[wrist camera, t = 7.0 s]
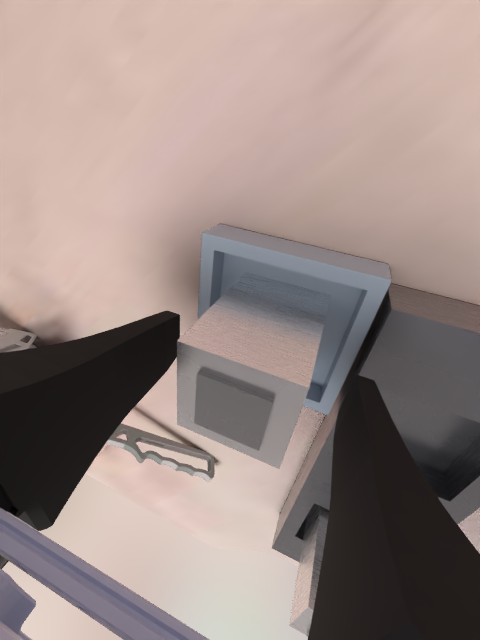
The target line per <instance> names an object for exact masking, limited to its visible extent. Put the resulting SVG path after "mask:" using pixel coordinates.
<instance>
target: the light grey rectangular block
mask: <svg viewBox="0 0 480 640" xmlns="http://www.w3.org/2000/svg"><path fill="white" fill-rule="evenodd" d="M330 297H331V295H329V294H325V293H321V292H318V291H314V290H310V289H307V288H303V287H299V286H296V285H292V284H288V283H285V282H281V281H277V280H274V279H270V278H266V277H263V276H259V275H255V274H252V273H248V272H245V273H244V274H243V275H242V276H241V277H240V278H239V279H238V280H237V281H236V282H235V283H234V284H233V285H232V286H231V287H230V288H229V289H228V290H227V291H226V292H225V293H224V294H223V295H222V296H221V297H220V298H219V299H218V300H217V301H216V302H215V303H214V304H213V305H212V306H211V307H210V308H209V309H208V310H207V311H206V312H205V313H204V314H203V315H202V316H201V317H200V318H199V319H198V320H197V321H196V322H195V323H194V324H193V325H192V326H191V327H190V328H189V329H188V330H187V331H186V332H185V333H184V334H183V335H182V336H181V337H180V338H179V339H178V340H177V424H178V425H180V426H182V427H184V428H187V429H189V430H191V431H194V432H196V433H198V434H201V435H203V436H205V437H207V438H210V439H212V440H214V441H217V442H219V443H221V444H223V445H226V446H228V447H230V448H233V449H235V450H237V451H239V452H242V453H244V454H246V455H249V456H251V457H253V458H255V459H258V460H260V461H262V462H265V463H267V464H269V465H271V466H274V467H276V468H278V469H279V468H280V465H281V463H282V460H283V457H284V454H285V452H286V449H287V446H288V444H289V441H290V438H291V436H292V433H293V430H294V428H295V425H296V422H297V420H298V417H299V414H300V412H301V409H302V406H303V404H304V401H305V398H306V395H307V393H308V390H309V387H310V383H311V378H312V374H313V370H314V366H315V361H316V357H317V353H318V348H319V344H320V340H321V336H322V331H323V327H324V323H325V318H326V314H327V310H328V306H329V301H330Z"/></svg>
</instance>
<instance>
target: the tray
mask: <svg viewBox="0 0 480 640" xmlns="http://www.w3.org/2000/svg"><path fill="white" fill-rule="evenodd" d="M245 272H248V273H252V274H255V275H259V276H263V277H266V278H270V279H274V280H277V281H281V282H285V283H288V284H292V285H296V286H299V287H303V288H307V289H310V290H314V291H318V292H321V293H325V294H329V295H331V297H330V301H329V306H328V310H327V314H326V318H325V323H324V327H323V331H322V336H321V340H320V344H319V348H318V353H317V357H316V361H315V366H314V370H313V374H312V378H311V383H310V387H309V390H308V393H307V395H306V398H305V401H304V404H303V406H304V407H307V408H310V409H312V410H315V411H318V412H320V413H323V414H326V415H329V413H330V410H331V408H332V406H333V404H334V402H335V400H336V398H337V396H338V394H339V391H340V389H341V387H342V385H343V383H344V381H345V379H346V377H347V374H348V372H349V370H350V368H351V366H352V364H353V362H354V360H355V357H356V355H357V353H358V351H359V349H360V347H361V345H362V343H363V340H364V338H365V336H366V334H367V332H368V330H369V328H370V326H371V323H372V321H373V319H374V317H375V315H376V313H377V311H378V309H379V307H380V304H381V302H382V300H383V298H384V296H385V294H386V292H387V290H388V287H389V285H390V283H391V281H392V279H391V274H390V270H389V265H388V264H386V263H382V262H378V261H373V260H369V259H365V258H361V257H357V256H353V255H348V254H344V253H340V252H336V251H332V250H327V249H323V248H319V247H315V246H311V245H307V244H302V243H298V242H294V241H290V240H286V239H281V238H277V237H273V236H269V235H265V234H261V233H256V232H252V231H248V230H244V229H240V228H235V227H231V226H227V225H223V224H219V225H217V226H215V227H213V228H211V229H209V230H206V231H204V232H202V244H201V264H200V283H199V302H198V319H199V318H200V317H201V316H202V315H203V314H204V313H205V312H206V311H207V310H208V309H209V308H210V307H211V306H212V305H213V304H214V303H215V302H216V301H217V300H218V299H219V298H220V297H221V296H222V295H223V294H224V293H225V292H226V291H227V290H228V289H229V288H230V287H231V286H232V285H233V284H234V283H235V282H236V281H237V280H238V279H239V278H240V277H241V276H242V275H243V274H244V273H245Z"/></svg>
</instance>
